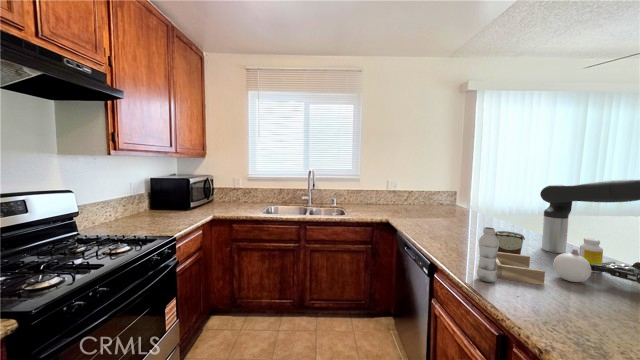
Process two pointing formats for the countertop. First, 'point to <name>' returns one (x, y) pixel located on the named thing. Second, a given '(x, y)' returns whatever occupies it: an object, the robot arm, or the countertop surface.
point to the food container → (509, 242)
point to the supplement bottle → (591, 251)
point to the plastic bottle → (488, 255)
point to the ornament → (572, 267)
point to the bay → (518, 269)
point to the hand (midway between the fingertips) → (590, 267)
